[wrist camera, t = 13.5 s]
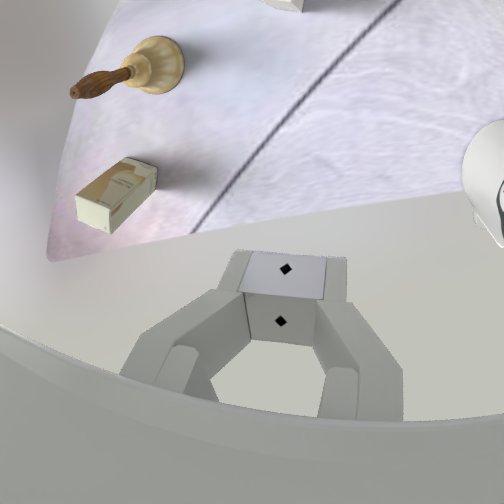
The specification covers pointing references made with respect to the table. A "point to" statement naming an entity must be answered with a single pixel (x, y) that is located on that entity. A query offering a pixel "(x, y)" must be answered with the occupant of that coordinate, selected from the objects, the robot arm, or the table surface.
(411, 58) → the table surface
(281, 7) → the gate posts
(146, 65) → the hand bell
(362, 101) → the table surface
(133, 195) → the skincare box
